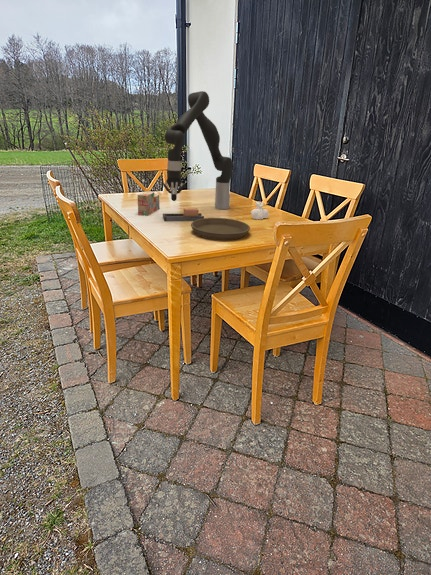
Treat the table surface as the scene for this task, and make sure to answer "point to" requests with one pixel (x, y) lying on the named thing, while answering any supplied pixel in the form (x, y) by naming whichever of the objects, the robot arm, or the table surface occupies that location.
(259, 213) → the bust
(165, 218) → the rectangular frame
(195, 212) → the block
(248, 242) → the table surface
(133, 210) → the table surface
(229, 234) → the plant saucer
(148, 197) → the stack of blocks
